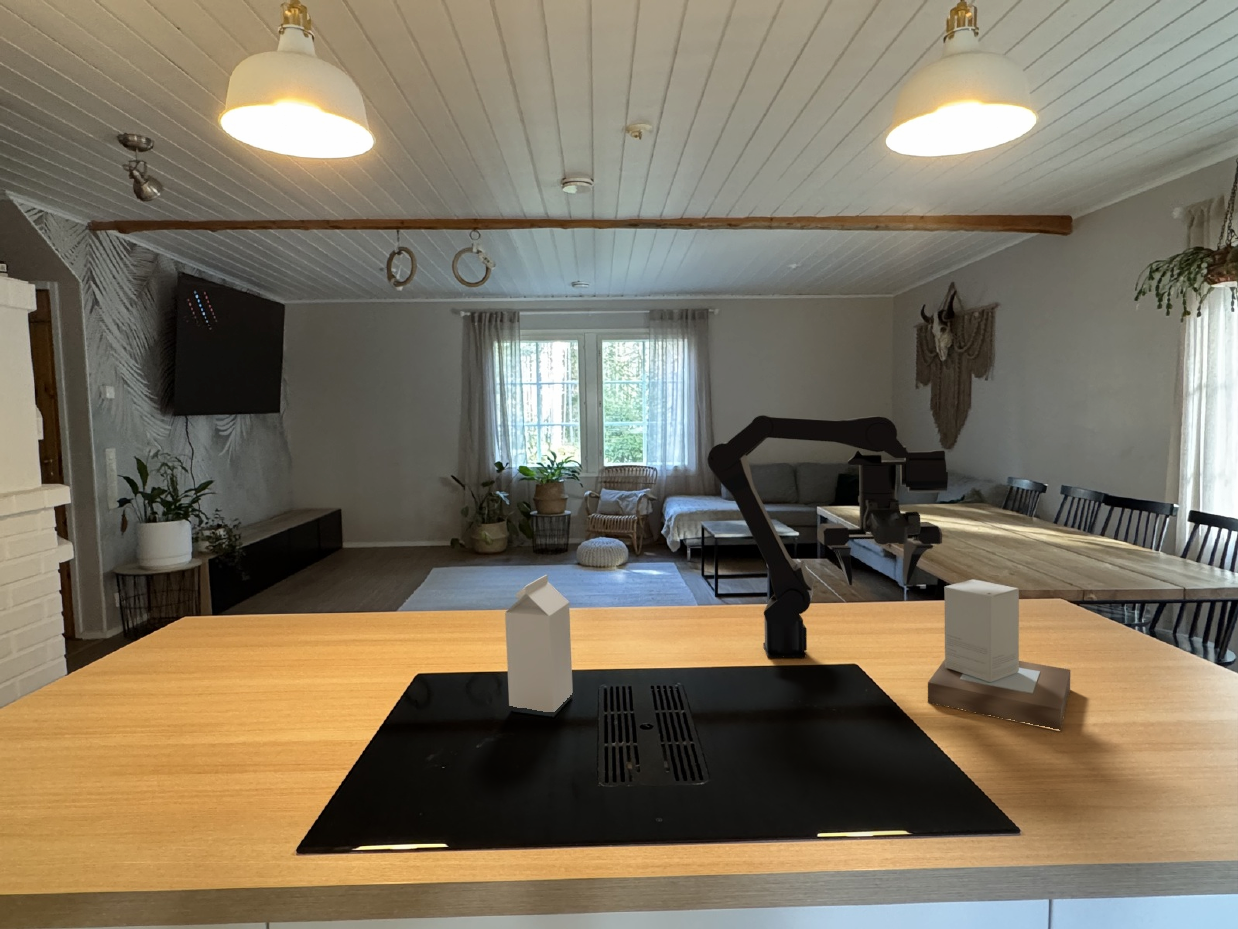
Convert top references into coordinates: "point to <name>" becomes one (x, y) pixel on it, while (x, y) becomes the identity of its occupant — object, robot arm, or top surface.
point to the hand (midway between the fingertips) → (878, 584)
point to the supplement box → (982, 629)
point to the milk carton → (539, 648)
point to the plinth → (1006, 693)
